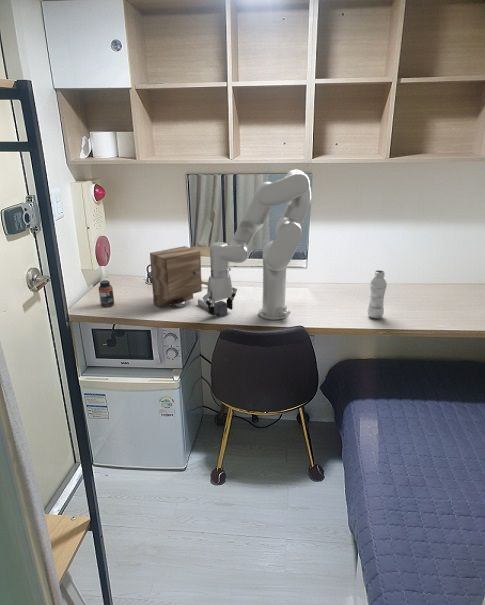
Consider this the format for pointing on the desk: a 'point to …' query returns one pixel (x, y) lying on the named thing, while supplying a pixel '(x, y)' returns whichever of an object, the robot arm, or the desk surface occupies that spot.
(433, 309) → the desk surface
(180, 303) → the token
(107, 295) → the supplement bottle
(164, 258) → the cabinet
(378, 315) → the plastic bottle
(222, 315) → the grey hammer
